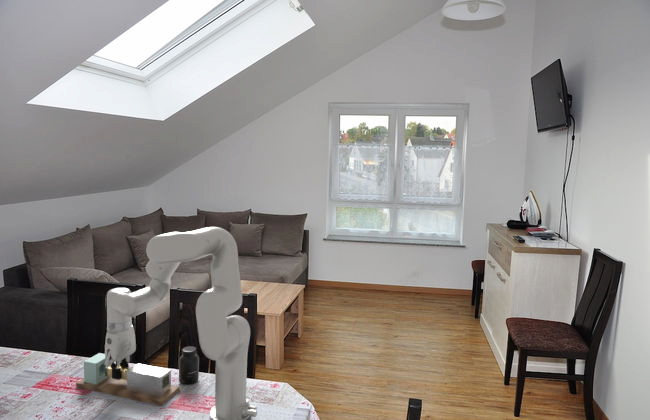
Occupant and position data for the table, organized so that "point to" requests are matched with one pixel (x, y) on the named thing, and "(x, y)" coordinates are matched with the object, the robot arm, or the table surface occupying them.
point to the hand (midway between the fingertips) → (120, 375)
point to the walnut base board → (127, 391)
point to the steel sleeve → (149, 379)
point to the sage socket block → (95, 369)
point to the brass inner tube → (123, 372)
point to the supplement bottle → (188, 366)
